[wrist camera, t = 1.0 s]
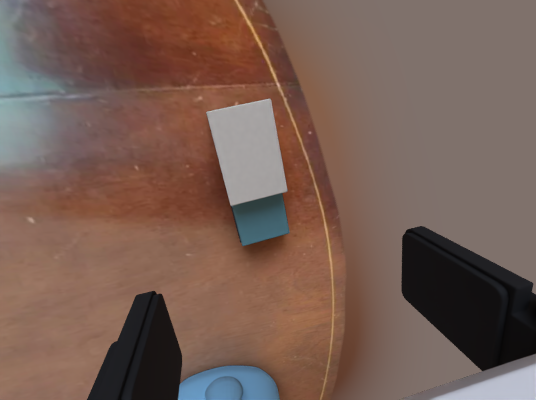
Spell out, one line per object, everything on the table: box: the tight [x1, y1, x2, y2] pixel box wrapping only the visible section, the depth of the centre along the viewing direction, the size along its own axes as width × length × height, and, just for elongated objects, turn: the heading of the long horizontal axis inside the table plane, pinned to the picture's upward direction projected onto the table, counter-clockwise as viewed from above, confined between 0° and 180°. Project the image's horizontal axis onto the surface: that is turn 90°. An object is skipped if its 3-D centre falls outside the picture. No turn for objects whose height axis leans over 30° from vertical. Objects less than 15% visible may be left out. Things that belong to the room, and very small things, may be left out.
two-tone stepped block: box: [206, 99, 289, 246], centre depth 23 cm, size 12×5×5 cm, turn 12°
